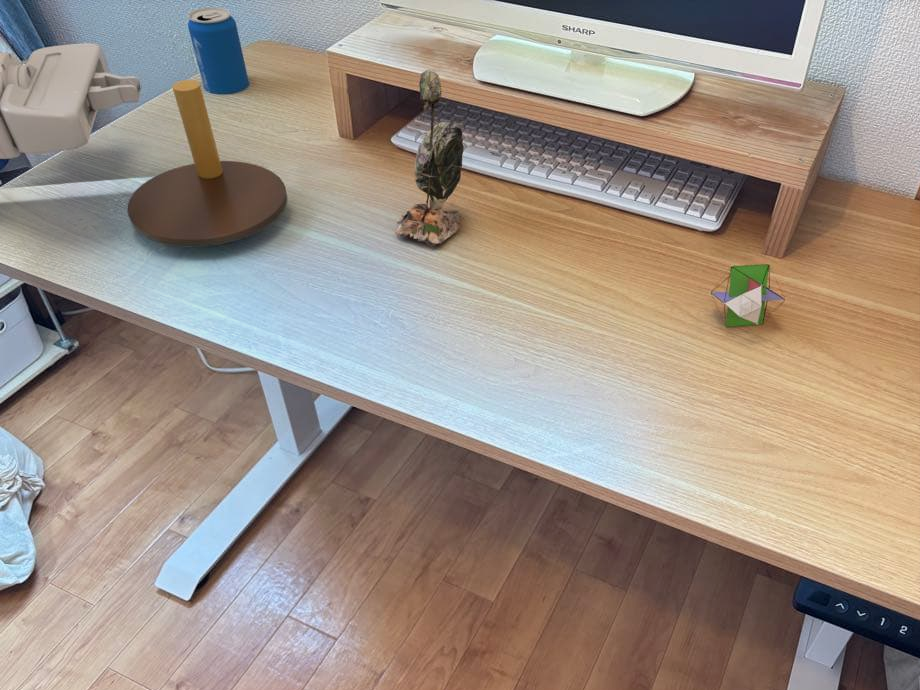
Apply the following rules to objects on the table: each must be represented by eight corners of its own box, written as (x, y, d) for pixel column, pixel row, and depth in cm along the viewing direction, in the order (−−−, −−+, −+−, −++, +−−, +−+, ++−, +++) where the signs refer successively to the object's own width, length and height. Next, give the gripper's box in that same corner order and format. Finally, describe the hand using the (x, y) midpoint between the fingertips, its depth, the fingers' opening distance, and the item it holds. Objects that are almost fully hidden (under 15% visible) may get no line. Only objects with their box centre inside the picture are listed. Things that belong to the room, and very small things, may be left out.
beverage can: (198, 97, 120) (176, 13, 111) (236, 85, 123) (217, 3, 115) (222, 111, 117) (201, 26, 108) (260, 98, 120) (242, 15, 112)
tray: (121, 254, 87) (81, 153, 79) (138, 174, 100) (104, 79, 91) (289, 238, 91) (268, 139, 82) (285, 162, 103) (267, 70, 95)
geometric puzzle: (700, 276, 88) (725, 252, 80) (759, 273, 89) (789, 249, 81) (708, 339, 87) (733, 321, 80) (767, 335, 88) (798, 317, 80)
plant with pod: (486, 213, 100) (485, 51, 86) (432, 256, 93) (421, 86, 79) (434, 194, 103) (425, 34, 88) (378, 233, 96) (358, 66, 81)
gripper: (34, 85, 97) (155, 78, 99) (-3, 167, 83) (139, 157, 86) (12, 31, 92) (139, 26, 95) (-31, 109, 78) (119, 100, 81)
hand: (139, 88), depth 90 cm, fingers closed
